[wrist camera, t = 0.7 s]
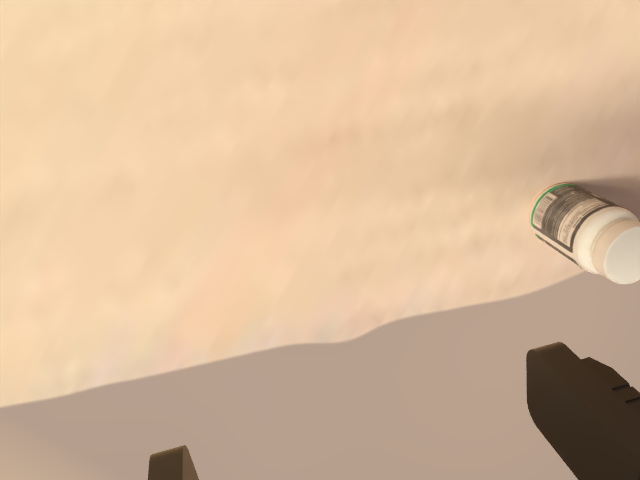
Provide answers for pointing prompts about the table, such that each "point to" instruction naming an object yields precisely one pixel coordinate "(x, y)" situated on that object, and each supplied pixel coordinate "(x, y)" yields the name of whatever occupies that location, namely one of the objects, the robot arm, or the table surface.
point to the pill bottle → (589, 231)
